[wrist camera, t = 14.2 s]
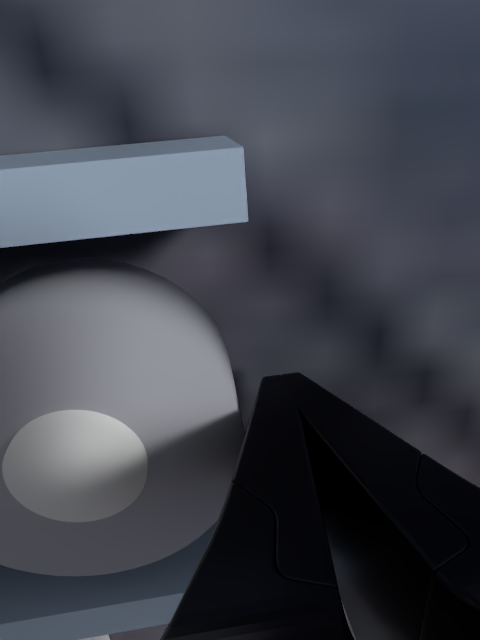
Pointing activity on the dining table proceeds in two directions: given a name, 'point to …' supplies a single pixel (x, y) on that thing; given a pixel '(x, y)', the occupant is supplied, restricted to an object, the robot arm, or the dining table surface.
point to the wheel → (109, 419)
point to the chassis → (92, 222)
